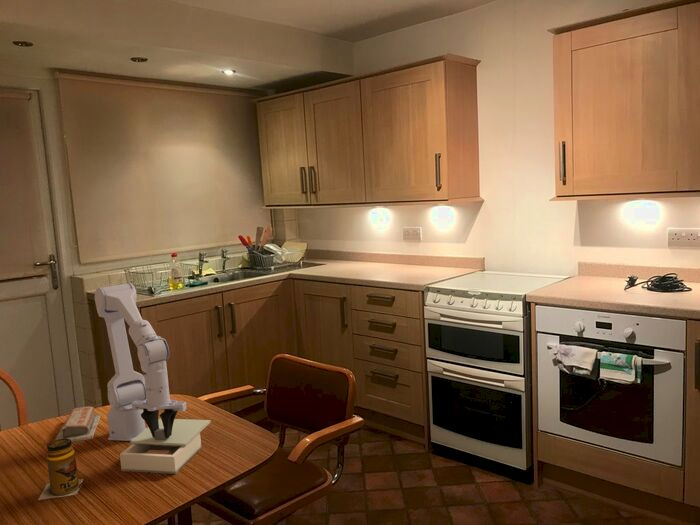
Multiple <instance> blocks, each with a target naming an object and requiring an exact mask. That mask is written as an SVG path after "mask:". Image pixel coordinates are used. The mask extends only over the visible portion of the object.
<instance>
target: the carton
mask: <svg viewBox="0 0 700 525" xmlns="http://www.w3.org/2000/svg"><path fill="white" fill-rule="evenodd" d="M201 449H202V440H201V432H200V433H199V434H198V435H197V436H196V437H195V438H193V439H192V440H191V441H190V442H189V443H188V444H187V445H186V446H179V445H156V444H134V443H131V445H129V446H128V447H127V448H126V449H124V450H123V451H122V452H120V454H119V460H120V468H121V471H122V472H130V471H131V472H132V473H133V472H134V473H135V472H136V473H148V472H150V473H149V474H152V473H153V474H165V475H166V474H168V475H169V474H170V475H177V473H178V472H180V470H182V469H183V468H184V467H185V466H186V464H188V462H189V461H191V459H192V458H193V457H195V456H196V454H197V453H198V452H200V450H201Z"/></svg>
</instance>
